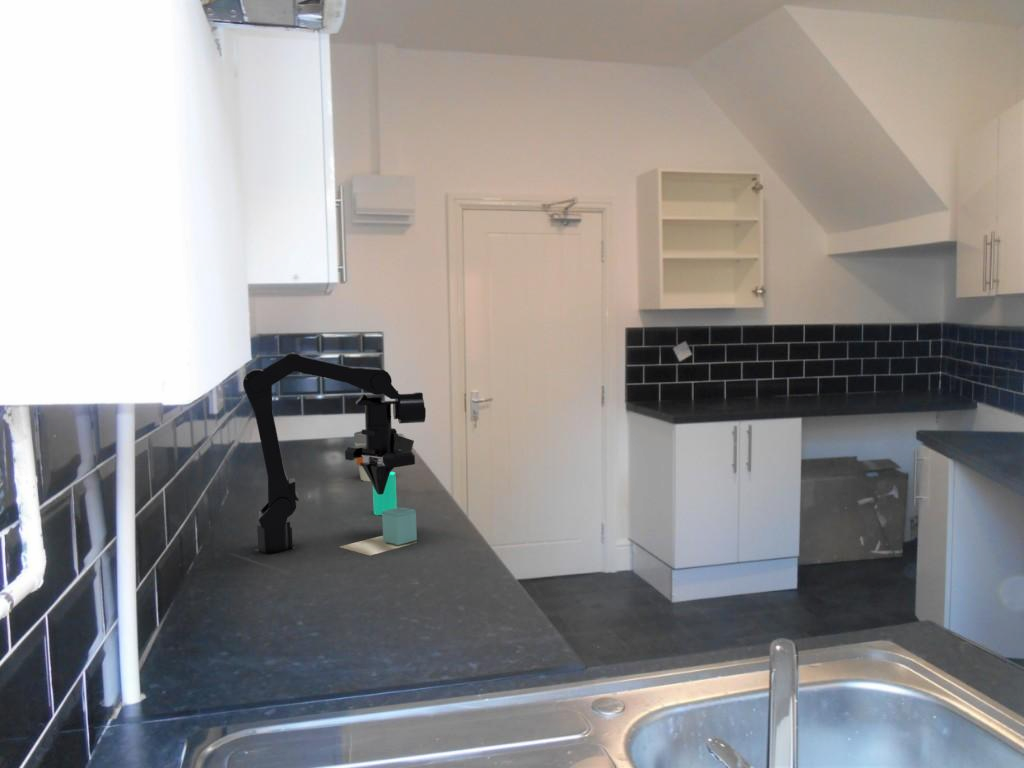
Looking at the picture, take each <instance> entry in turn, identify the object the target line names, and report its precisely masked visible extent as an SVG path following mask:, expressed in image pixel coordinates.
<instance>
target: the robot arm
mask: <svg viewBox="0 0 1024 768" xmlns="http://www.w3.org/2000/svg"><path fill="white" fill-rule="evenodd" d="M295 372H297V373H302V374H306V375H311V376H316V377H319V378H325V379H328V380H334V381H337V382H343V383H345V384H346V383H347V384H349V385H351V386H354V387H356V388H358V389H361V390H362V391H366V392H368V393H370V394H372V395H374V396H367V395H366V394H365V393H362V394H361V396H360V397H359V398H358V399H357V400H356V401H355V404H356V405H358V406H364V416H365V417H364V420H365V421H364V423H365V429H363V428H362V429H361V431H362V434H364V435H366V445H360V446H355V445H353V446H348V447H347V449H346V450H345V451H344V459H345V460H346V461H355V460H356V458H360V457H363V463H360V466H362V467H363V468H364V470H365V472H366V474H367V475H368V477H369V479H370V481H369V482H370V483H371V484H372V487H373V486H374V488H375V490H376V492H377V494H379V495H381V494H383V493H384V490H385V487H386V483H387V480H388V477H389V474H390V472H392V470H394V468H401V467H406V466H412V465H416V455H415V454H414V452H412V450H413V447H414V442H415V440H413V439H410V438H408V437H404V436H400V435H399V434H398V431H397V430H396V428H394V427H393V428H392V415H393V419H394V420H397V422H398V424H417V423H420V424H421V423H425V421H426V416H427V415H426V407H425V401H424V400H425V399H424V393H423V392H413V393H399V390H397V389H396V388H395V387H394V386H393V385H392V383H393V382H392V381H393V380H392V377H391V374H390V373H389V372H388V371H387V370H385V369H383V368H379V367H366V366H349V365H344V364H339V363H335V362H332V361H331V362H330V361H326V360H324V359H318V358H315V357H310V356H305V355H303V354H302V355H301V354H299V353H297V352H289V353H287V354H286V355H285V356H284V357H281V359H278V360H277V361H275V362H273V363H271V364H270V365H268V366H266V367H264V368H262V369H261V368H255V369H252V370H250V371H249V372H247V374H246V375H245V376H244V378H243V382H242V386H243V389H244V391H245V394H246V397H247V399H248V402H249V404H250V406H251V409H252V411H253V413H254V416H255V420H256V426H257V430H258V435H259V441H260V444H261V450H262V454H263V459H264V464H265V468H266V469H265V470H266V474H267V498H268V499H267V503H266V504H265V505H264V506H263V507H262V508H261V509H260V510H259V512H258V522H259V523H258V524H257V525H256V533H257V535H256V536H257V548H254V551H256V552H259V553H262V554H265V555H269V556H270V555H274V554H278V553H282V552H285V551H286V552H287V551H292V550H294V549H296V547H294V546H293V545H294V543H293V542H294V538H293V527H291V521H290V520H288V517H290V516H292V515H293V514H294V513H295V511H296V508H297V502H299V499H300V498H299V494H298V491H297V490H296V479H295V477H292V478H290V479H289V478H288V474H287V473H286V469H285V467H284V462H283V456H282V451H281V447H280V446H281V445H280V442H279V436H278V431H277V428H276V423H275V417H274V412H273V386H274V385H275V384H276V383H278V382H280V381H282V380H284V379H285V378H286V377H287V376H289V375H290V374H293V373H295ZM375 395H376V396H375ZM382 395H383V396H385V397H387V398H389V400H382V397H380V396H382ZM390 399H391V400H390ZM376 455H377V456H376ZM382 456H383V457H382Z"/></svg>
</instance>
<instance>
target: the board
mask: <svg viewBox="0 0 1024 768" xmlns="http://www.w3.org/2000/svg"><path fill="white" fill-rule="evenodd" d="M416 543H418V541H416V540H415V541H411V542H407V543H404V544H400V545H396V544H392V543H388V542H384V541H383V535H380V536H376V537H371V538H367V539H365V540H364V539H363V540H360V541H356V542H353V543H348V544H344V545H341V546H339V548H341V549H345V550H349V551H352V552H355V553H359V554H363V555H366V556H373V555H377V554H381V553H385V552H388V551H392V550H396V549H399V548H403V547H407V546H410V545H413V544H416Z"/></svg>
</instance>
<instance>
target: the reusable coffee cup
mask: <svg viewBox="0 0 1024 768" xmlns="http://www.w3.org/2000/svg"><path fill="white" fill-rule="evenodd" d="M353 443H354V446H360V445H366V435H364V434H362V430H360V431H356V432H354V433H353ZM376 456H377V455H376ZM382 457H383V456H382ZM355 460H356V465H358V470H359V471H358V472H359V477H360V481H362V480H363V481H362V482H371V481H370V479H369V477H368V475H367V474H366V472H365V470H364V468H363V467H362V466H360V463H363V457H360V458H355Z"/></svg>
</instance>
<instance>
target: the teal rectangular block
mask: <svg viewBox="0 0 1024 768" xmlns="http://www.w3.org/2000/svg"><path fill="white" fill-rule="evenodd" d="M381 521H382V536H383V541H384V542H388V543H392V544H396V545H400V544H404V543H407V542H411V541H415V542H416V541H417V540H418V536H417V534H418V532H417V510H416V509H411V508H408V507H407V508H406V507H403V506H402V507H401V506H400V507H397V508H395V509H390V510H386V511H382V516H381Z"/></svg>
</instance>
